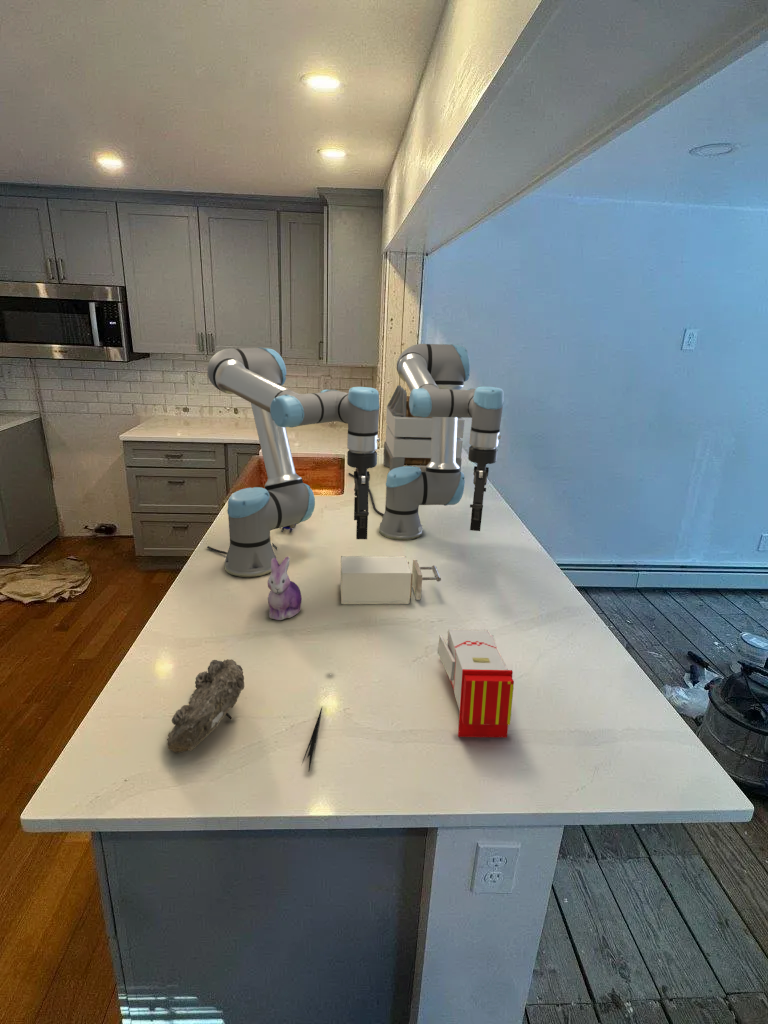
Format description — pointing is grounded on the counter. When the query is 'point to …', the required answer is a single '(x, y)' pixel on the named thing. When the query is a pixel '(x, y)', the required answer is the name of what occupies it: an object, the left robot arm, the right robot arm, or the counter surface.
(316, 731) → the feather
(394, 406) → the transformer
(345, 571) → the cabinet
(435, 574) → the drawer
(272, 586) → the figurine
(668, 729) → the counter surface
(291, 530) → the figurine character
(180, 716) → the fossil
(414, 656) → the counter surface
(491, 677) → the toy
